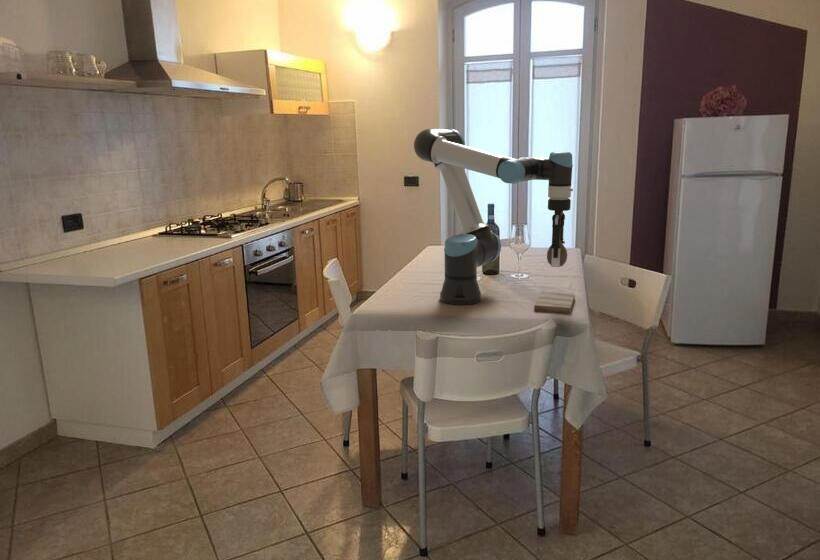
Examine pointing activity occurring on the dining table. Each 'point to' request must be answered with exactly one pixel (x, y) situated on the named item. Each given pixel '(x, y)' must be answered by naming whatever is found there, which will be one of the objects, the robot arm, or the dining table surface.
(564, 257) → the vase
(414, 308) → the dining table surface
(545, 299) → the walnut board
